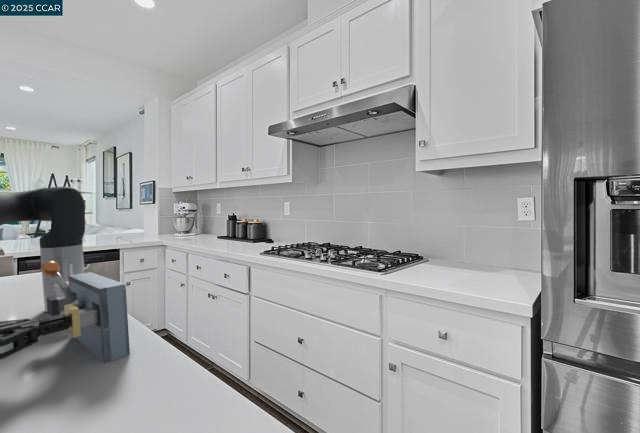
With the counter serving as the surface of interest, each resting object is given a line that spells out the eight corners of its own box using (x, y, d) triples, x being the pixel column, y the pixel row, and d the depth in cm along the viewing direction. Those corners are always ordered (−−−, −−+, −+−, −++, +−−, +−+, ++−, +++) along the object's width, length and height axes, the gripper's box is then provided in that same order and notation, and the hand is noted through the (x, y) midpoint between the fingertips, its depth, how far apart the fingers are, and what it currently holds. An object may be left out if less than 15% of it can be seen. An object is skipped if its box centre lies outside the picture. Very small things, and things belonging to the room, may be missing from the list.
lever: (69, 310, 63) (36, 265, 59) (84, 302, 64) (52, 257, 61) (73, 313, 61) (39, 267, 57) (88, 304, 63) (55, 258, 59)
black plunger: (47, 312, 66) (46, 297, 66) (71, 306, 69) (70, 292, 69) (52, 316, 64) (51, 300, 63) (77, 310, 67) (76, 295, 67)
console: (65, 338, 69) (61, 276, 69) (94, 330, 73) (90, 272, 73) (96, 365, 56) (91, 290, 56) (129, 354, 60) (125, 284, 60)
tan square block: (66, 331, 57) (64, 305, 57) (92, 324, 60) (91, 299, 60) (73, 337, 54) (71, 310, 54) (101, 329, 57) (99, 303, 57)
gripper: (-103, 346, 38) (78, 306, 51) (-97, 322, 47) (56, 293, 60) (-97, 409, 38) (81, 353, 52) (-92, 374, 47) (60, 334, 60)
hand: (68, 321), depth 56 cm, fingers closed
